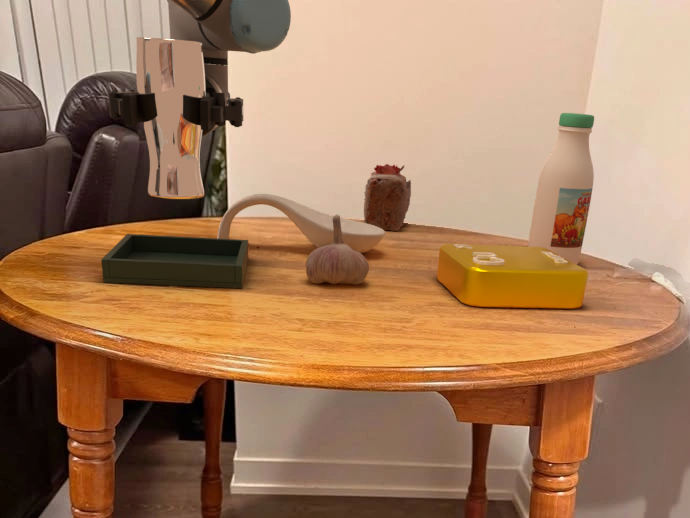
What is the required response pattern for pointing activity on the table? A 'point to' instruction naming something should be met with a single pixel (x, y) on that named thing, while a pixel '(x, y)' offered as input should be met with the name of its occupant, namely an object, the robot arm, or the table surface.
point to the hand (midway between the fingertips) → (165, 112)
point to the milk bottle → (565, 190)
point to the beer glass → (172, 114)
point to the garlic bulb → (336, 261)
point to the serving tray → (177, 261)
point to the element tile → (511, 276)
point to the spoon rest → (309, 223)
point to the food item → (387, 198)
